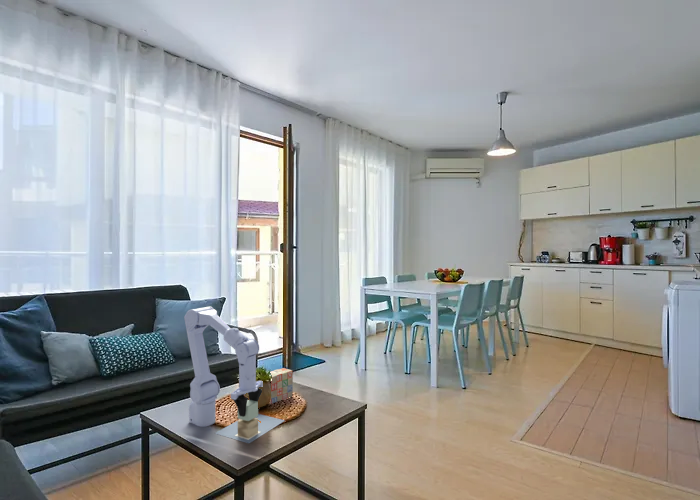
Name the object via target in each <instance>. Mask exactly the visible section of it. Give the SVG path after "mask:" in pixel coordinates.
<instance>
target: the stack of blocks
mask: <svg viewBox="0 0 700 500" xmlns="http://www.w3.org/2000/svg"><path fill="white" fill-rule="evenodd" d="M269 372H270V373H271V375H272V381H271V401H270V405H272V404H274V403H277V402H279V401H280V402H282V401H281V400H284V399H287V398H289V397H292V396H293V393H294V392H293V385H294V384H293V383H294V382H293V381H294V380H293V379H294V378H293V370H292V369H288V368H284V367H282V368H277V369H274V370H272V371H269ZM292 398H293V397H292ZM289 399H290V398H289ZM287 400H288V399H287ZM284 401H285V400H284Z"/></svg>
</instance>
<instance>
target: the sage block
mask: <svg viewBox="0 0 700 500" xmlns="http://www.w3.org/2000/svg"><path fill="white" fill-rule="evenodd" d="M258 414H259V409H258V402H257V401H253V400H248V401H247V405H246V414H245V416H244V417H243V416H240V415H239V411H238V410H237V419H238V420H240V419H242V420H246V421H250V420H251V419H253V418H255V417H257V416H258Z"/></svg>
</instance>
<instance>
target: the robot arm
mask: <svg viewBox="0 0 700 500" xmlns="http://www.w3.org/2000/svg"><path fill="white" fill-rule="evenodd" d="M183 318H184V323H185V330H186V335H187V342H188V346H189V350H190V355H191V362H192V368H193V372H194V377H193V379H192V380H191V382H190V384H189V387H190V390H189V391H190V392H189V396H190V399H191V402H190V403H189V406H188V407H189V408H188V422H189V423H190V424H193V425H195V426H196V427H208V426H212V425H213V424H215V423H216V399H218V395H219V394H220V392H221V387H220V384H219V382H218V379H217V376H216V375H215V374H213V373H211V371H210V365H209V361H208V355H207V349H206V346H205V339H204V334H203V332H204V331H205V329H206V328H207V327H209V326H210V327H211V328H213V329H214V330H216V331H217V332H218V333H220V334H221V335H223V340H224V342H225V343H227V345H229V346H231V348H232V349H233V350H234V352H235V356H236V357H237V362H238V367H239V368H238V371H239V372H238V376H239V378H238V379H239V380H238V381H239V382H238V383H239V385H238V387H237V388H236V389H235V390H234V391H232V392H231V393H230V400H233V402H234V403H235V405H236V408H237V412H238V411H239V415H240V416H243V417H244V416H245V414H246V405H247V401H248V398H247V397H245V394H246V393H248V395H249V400H253V401H257V402H258V400H259V397H260V395H261V393H262V389H259V387H263V381H262V380H257V367H256V365H257V361H256V360H257V359H256V358H257V356H256V355H257V354H258V353H259V351H260V345H259V343H258V341H257V340H256V339H255V338H249V337H248V336H246V335H244V333H242V332H241V331H240V330H239V328H238V327H237V328H236V327H230V326H229V325H228V324H227V323H226V322H225V320H223V319H222V318H221V317H220V316H219V315H218V310H216V309H214V307H212V306H209V305H208V306H206V307H205V306H204V307H198V308H192V309H188V310H187V311H186V313H185V315H184V316H183Z"/></svg>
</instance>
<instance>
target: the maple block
mask: <svg viewBox="0 0 700 500" xmlns="http://www.w3.org/2000/svg"><path fill="white" fill-rule="evenodd" d="M238 420H239V421H238ZM238 420H237V421H238V435H239V436H242V437H245V438H250V437H252V436H253V435H255V434H256V433H258V418H253V419H251V420H250V421H246V420H242V419H241V420H240V419H238Z"/></svg>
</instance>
